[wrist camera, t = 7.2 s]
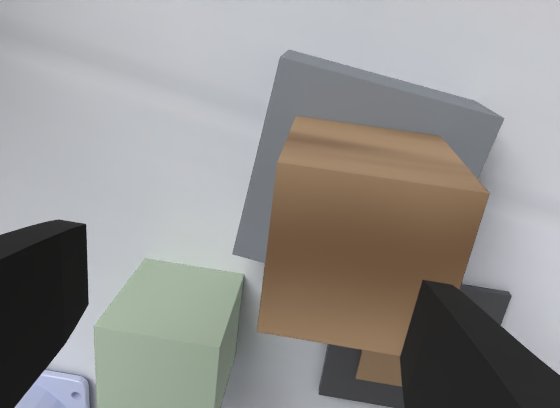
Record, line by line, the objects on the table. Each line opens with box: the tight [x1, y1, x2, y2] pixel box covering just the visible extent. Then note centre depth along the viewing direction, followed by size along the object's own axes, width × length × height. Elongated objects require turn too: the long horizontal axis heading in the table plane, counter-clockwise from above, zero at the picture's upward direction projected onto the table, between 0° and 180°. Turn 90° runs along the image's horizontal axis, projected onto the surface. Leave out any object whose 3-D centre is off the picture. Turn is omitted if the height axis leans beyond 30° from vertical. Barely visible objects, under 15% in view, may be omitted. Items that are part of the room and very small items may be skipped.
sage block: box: [94, 258, 244, 408], centre depth 19 cm, size 4×4×5 cm
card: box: [319, 284, 511, 408], centre depth 21 cm, size 7×7×1 cm
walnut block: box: [257, 116, 490, 356], centre depth 13 cm, size 4×4×5 cm
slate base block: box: [233, 50, 504, 263], centre depth 17 cm, size 7×7×4 cm
